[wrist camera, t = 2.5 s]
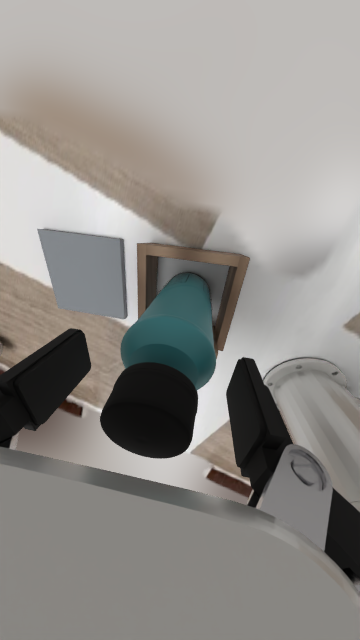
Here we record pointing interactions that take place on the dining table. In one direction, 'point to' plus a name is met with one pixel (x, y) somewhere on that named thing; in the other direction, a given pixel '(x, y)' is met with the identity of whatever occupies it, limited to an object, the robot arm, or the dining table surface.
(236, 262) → the brown wooden open box
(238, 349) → the dining table surface
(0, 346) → the donut
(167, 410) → the beverage bottle
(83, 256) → the slate mat
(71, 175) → the dining table surface
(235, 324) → the dining table surface
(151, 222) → the dining table surface
